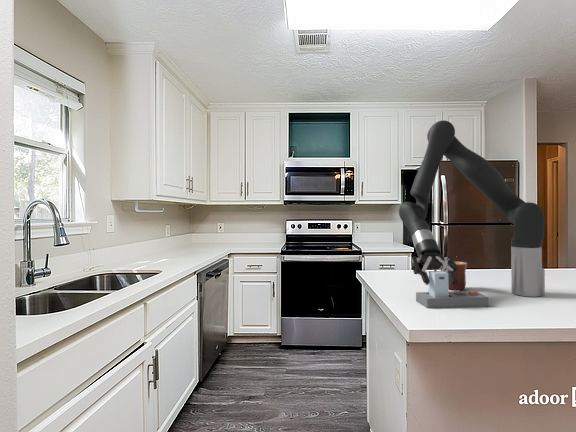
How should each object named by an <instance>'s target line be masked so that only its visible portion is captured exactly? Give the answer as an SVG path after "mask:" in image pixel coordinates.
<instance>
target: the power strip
mask: <svg viewBox="0 0 576 432" xmlns="http://www.w3.org/2000/svg"><path fill="white" fill-rule="evenodd" d="M489 299H490V298H489V296H488V295H484V294H482V293H479V292H478V291H477V290H476V291H475V290H459V291H457V290H449V297H432V296H430V295H429V291H418V292H415V301H416V302H417V304H418V303H419V304H420V305H421V306H423V307H425V308H427V309H436V308H437V309H439V308H442V309H443V308H444V309H445V308H475V307H477V308H479V307H480V308H481V307H489V305H490V304H489V303H490V301H489Z"/></svg>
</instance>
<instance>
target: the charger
mask: <svg viewBox="0 0 576 432" xmlns="http://www.w3.org/2000/svg"><path fill="white" fill-rule="evenodd" d="M428 277H429V280H430V283H429V284H428V292H429V295H430V296H432V297H449V291H450V290H449V284H448V273H446V272H443V271H441V270H436V271H434V270H428Z"/></svg>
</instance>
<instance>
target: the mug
mask: <svg viewBox="0 0 576 432" xmlns="http://www.w3.org/2000/svg"><path fill="white" fill-rule="evenodd" d="M454 262H455V264H456V265H457V267H458V269H457V271H456V273H455V274H454V275H455V277H456V281H455V283H454V284H451V282H450V280H449V278H448V284H449V291H457V290H459V291H465V289H466V284H467V281H466V270H467V267H468V262H464V261H455V260H454ZM441 267H443V265H442V266H441ZM447 270H448V269H447ZM433 271H437V270H436V269H433ZM448 271H449V270H448Z"/></svg>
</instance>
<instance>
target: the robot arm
mask: <svg viewBox="0 0 576 432" xmlns="http://www.w3.org/2000/svg"><path fill="white" fill-rule="evenodd" d="M455 135H456V129H455V126H454V124H453V123H452V122H450V121H449V120H439V121H437V122H435V123H433V124H432V125H431V127H430V128H429V130H428V132H427V134H426V136H427V137H426V138H427V142H428V143H427V147H426V151H425V154H424V156H423V159H422V161H421V164H420V166H419V168H418V170H417V173H416V174H415V177H414V180H413V183H412V186H411V189H410V192H409V193H410V195H411V197H413V198H415V203H414V202H411V201H404V202H402V203H401V204H400V206H399V209H398V215H399V218H400V220H401V221H402V223H403V224H404V226H405V227H406V229H407V230H408V231H409V233H410V237H411V239H412V242H413V246H414V249H415V252H416V254H417V256H418V257H417V256H415V255H413V256H412V258H411V260H410V263H411V266H412V271H413V273H414V275H419V276H420V277H421V279H422V283H424V285H427V286H429V283H430V280H429V274H428V273H427V270H428V271H433V270H434V269H436V271H443V272H446V273H448V278H449V280H450V282H451V284H454V283H455V281H456V277H455V275H454V274H455V273H456V271H457V269H458V267H457V265H456V264H455V262H456V261H455V260H454V258H453V256H452V255H448V256H445V257H444V256H443V255H442V253H441V249H440V247H439V245H438V242H437V240H436V237H435V236H434V234H433V233H432V230H431V228H430V226H429V224H428V223H427V221H426V218H427V216H428V210H429V198H430V194H431V191H432V188H433V186H434V183H435V179H436V176H437V173H438V171H439V168H440V164H441V162H442V159H443V158H444V156H445V157H446V158H447V159H448V160H449V161H450V162H451V163H452V164H453V166H454V167H455V168H457V170H458V171H459V172H460V173H461V174H462V175H463V176H464V177H465V179H466V180H468V181H469V182H470V183H471V185H473V186H474V187H475V188H476V189H477V190H478V191H480V192H481V194H483V195H484V196H485V197H487V199H489V200H490V201H491V202H493V203H494V204H495V205H496V207H497V208H498V209H499V210H500V211H501V212H502V213H503V215H504V217H506V219H507V220H508V221H509V222H510V223H511V224H512V225H513V226H514V228H513V229H514V231H513V237H512V238H511V239H510V250H511V251H510V252H511V253H510V254H511V255H510V259H511V260H510V263H511V264H510V267H511V269H510V270H511V271H510V272H511V282H510V283H511V288H510V289H511V294H514V295H517V296H523V297H530V298H531V297H535V298H537V297H541V296H545V293H546V285H545V283H546V282H545V280H546V278H545V276H546V273H545V272H546V271H545V268H544V267H543V263H542V262H543V260H542V259H543V256H542V255H543V254H542V253H543V251H542V249H543V248H542V243H543V240H544V238H545V214H544V210H543V208H542V207H541V206H540V205H539V204H537V203H534V202H529V201H527V202H525V201H524V200H523V199H522V198H520V197H519V196H518V195H517V194H515V193H514V192H513V191H512V189H511V188H510V187H509V185H508V184H507V182H506V180H505V179H504V178H503V176H502V175H501V173H500V172H499V170H498V169H496V168H495V167H494V166H493V164H491V163H490V162H489V161H488V160H487V159H486V158H484V157H483V156H481V155H480V154H478V153H477V152H475V151H473V150H471V149H469V148H468V147H466V146H465V145H464V144H463V143H462V142H461V141H460V140H459V139H458V138H457V137H456V136H455ZM454 261H455V262H454ZM419 263H420V264H421V266H423V267H422V269H421V268H420V266H419ZM442 265H443V267H441V266H442ZM447 269H448V270H449V271H448V270H447Z"/></svg>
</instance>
